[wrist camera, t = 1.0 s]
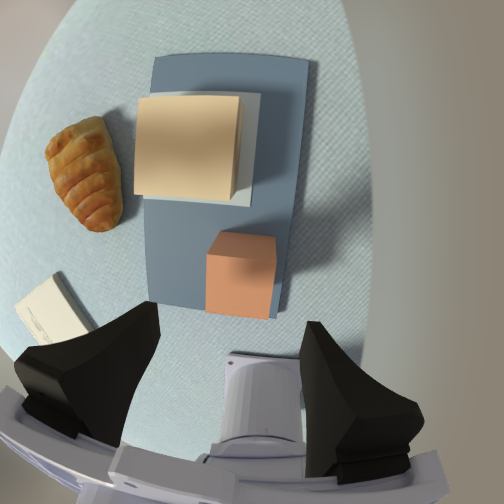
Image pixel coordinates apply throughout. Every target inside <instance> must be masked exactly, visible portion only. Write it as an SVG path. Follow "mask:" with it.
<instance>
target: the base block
mask: <svg viewBox="0 0 504 504" xmlns="http://www.w3.org/2000/svg"><path fill="white" fill-rule="evenodd" d="M244 107H245V106H244V104H243V102H242V101H241V99H240V97H239V96H210V95H192V96H163V97H148V98H139V103H138V113H137V125H136V139H135V161H134V195H154V196H171V197H186V198H199V199H212V200H223V201H230V200H231V199H232V197H233V196H234V195H235V193H236V192H237V182H238V170H239V159H240V148H241V137H242V127H243V117H244Z"/></svg>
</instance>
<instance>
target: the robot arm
mask: <svg viewBox="0 0 504 504" xmlns="http://www.w3.org/2000/svg"><path fill="white" fill-rule="evenodd" d="M160 336H161V334H160V325H159V316H158V306H157V303H156V302H150V301H145V302H143V303H141V304H139V305H138V306H136V307H134V308H133V309H131V310H130V311H128V312H126V313H125V314H123V315H121V316H120V317H118V318H117V319H115V320H113V321H111V322H109V323H107V324H106V325H104V326H102V327H100V328H98V329H96V330H94V331H91V332H89V333H87V334H84V335H81V336H78V337H75V338H72V339H69V340H66V341H62V342H58V343H53V344H48V345H40V346H30V347H28V348H27V349H26V350H25V351H24V352H23V353H22V354H21V355H20V357H19V358H18V359H17V360H16V361H15V362H14V368H15V372H16V374H17V376H18V377H19V379H20V381H21V383H22V384H23V386H24V388H25V389H26V391H27V393H28V394H29V395H28V396H27V398H26V399H25V397H24V396H23V395H21V394H20V393H19V392H17V391H16V390H14V389H12V388H11V387H10V386H6V387H5V388H4V389H3V390H2V392H1V393H0V438H1V439H2V440H3V441H4V442H5V443H6V444H7V445H8V446H9V447H10V448H11V449H12V450H13V451H15V452H16V453H17V454H19V455H20V456H21V457H23V458H24V459H25V460H27V461H28V462H30V463H31V464H33V465H34V466H35V467H37V468H38V469H40V470H41V471H42V472H44V473H45V474H47V475H49V476H50V477H52V478H53V479H55V480H57V481H58V482H60V483H61V484H63V485H65V486H66V487H68V488H70V489H72V490H73V491H75V492H77V493H79V496H78V499H77V502H76V504H435V503H436V502H438V501H440V500H441V499H443V498H445V497H446V496H448V495H449V494H450V489H449V486H448V482H447V479H446V476H445V473H444V470H443V467H442V464H441V462H440V459H439V456H438V453H437V451H436V450H433V451H429V452H426V453H422V454H419V455H416V456H413V457H411V458H410V459H409V457H408V454H407V453H409V451H410V447H409V443H410V442H411V440H412V439H413V438H414V437H415V436H416V435H417V434H418V433H419V432H420V430H421V429H422V427H423V425H424V417H423V415H422V413H421V410H420V408H419V406H418V404H417V403H416V402H414V401H412V400H409V399H407V398H405V397H403V396H401V395H398V394H396V393H395V392H393V391H391V390H389V389H388V388H386V387H385V386H383V385H381V384H380V383H379V382H377V381H376V380H374V379H373V378H372V377H370V376H369V375H368V374H366V373H365V372H364V371H363V370H362V369H361V368H360V367H358V366H357V365H356V364H355V363H354V362H353V361H352V360H351V359H350V358H349V357H348V356H347V355H346V354H345V352H344V351H343V350H342V349H341V348H340V347H339V345H338V344H337V343H336V342H335V341H334V339H333V338H332V337H331V335H330V334H329V333H328V331H327V330H326V329H325V328H324V326H323V325H322V324H321V322H316V321H307V325H306V329H305V333H304V337H303V341H302V345H301V349H300V353H299V359H300V360H297V359H282V358H270V357H259V356H249V355H241V354H232V353H230V354H228V355H227V356H226V368H225V390H224V412H223V418H222V424H221V430H220V436H219V442H218V444H211V449H210V454H205V453H204V454H201V455H200V456H199V457H198V458H197V459H196V460H195V461H189V460H184V459H179V458H175V457H171V456H166V455H162V454H159V453H155V452H151V451H148V450H144V449H141V448H137V447H131V446H123V447H119V445H120V440H121V436H122V432H123V428H124V424H125V420H126V417H127V413H128V410H129V407H130V404H131V401H132V398H133V395H134V393H135V390H136V388H137V386H138V384H139V382H140V380H141V378H142V376H143V374H144V372H145V370H146V368H147V366H148V364H149V362H150V361H151V359H152V357H153V355H154V353H155V350H156V348H157V345H158V342H159V339H160ZM229 361H232V362H229ZM302 388H303V395H304V401H305V408H306V430H307V435H306V444H305V442H303V432H302V418H301V405H300V392H301V389H302Z"/></svg>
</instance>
